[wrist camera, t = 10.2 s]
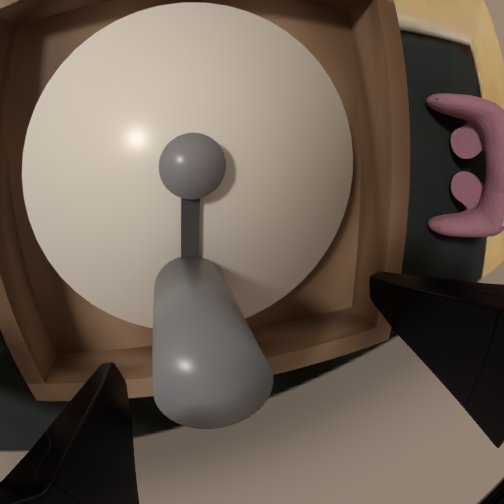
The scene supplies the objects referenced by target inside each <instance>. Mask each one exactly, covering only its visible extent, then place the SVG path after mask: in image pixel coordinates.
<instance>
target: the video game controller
mask: <svg viewBox="0 0 504 504" xmlns="http://www.w3.org/2000/svg"><path fill="white" fill-rule="evenodd" d="M426 104H427V106H428V107H430V108H432V109H433V110H435V111H438V112H440V113H443V114H446V115H450V116H453V117H456V118H460V119H464V120H465V121H466V123H465V125H464V126H462V127H460V128H458V129H456V130H455V131H454V132H453V133H452V135H451V146H452V149H453V151H454V152H455V154H456V155H457V156H459V157H461V158H464V159H470V158H473V157H475V156H477V155H478V154H479V153H481V152H482V151H484V152H485V160H486V174H485V183H484V184H483V183H481V181H480V180H479V179H478V178H477V177H476V176H475V175H474V174H472V173H470V172H464V171H462V172H459V173H457V174H456V175H455V176H454V177H453V179H452V182H451V191H452V194H453V195H454V197H455V198H456V199H457V200H459V201H460V202H461V203H463V204H464V205H465V206H466V207H467V209H466V210H465V211H462V212H460V213H454V214H445V215H440V216H435V217H433V218H431V219H429V221H428V226H429V228H430V229H432V230H433V231H435V232H437V233H440V234H443V235H447V236H458V237H488V236H495V235H497V234H499V233H501V232H502V231H503V230H504V110H503V109H502V108H501V107H500V106H498V105H497V104H496V103H494V102H491V101H488V100H486V99H483V98H479V97H475V96H470V95H462V94H447V93H443V94H434V95H431V96H429V97H428V98H427V99H426Z"/></svg>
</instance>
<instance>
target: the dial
mask: <svg viewBox="0 0 504 504" xmlns="http://www.w3.org/2000/svg"><path fill="white" fill-rule="evenodd" d="M352 176H353V148H352V138H351V132H350V128H349V123H348V119H347V115H346V112H345V109H344V107H343V104H342V101H341V98H340V96H339V94H338V92H337V90H336V88H335V86H334V84H333V82H332V81H331V79H330V77H329V76H328V74H327V73H326V71H325V70H324V68H323V67H322V66H321V64H320V63H319V61H318V60H317V59H316V58H315V57H314V56H313V55H312V54H311V53H310V52H309V50H308V49H307V48H306V47H305V46H304V45H303V44H301V43H300V42H299V41H298V40H297V39H295V38H294V37H293V36H292V35H290V34H289V33H288V32H286V31H285V30H283V29H282V28H280V27H279V26H277V25H275V24H274V23H272V22H270V21H268V20H266V19H264V18H262V17H260V16H257V15H255V14H253V13H250V12H248V11H244V10H241V9H237V8H234V7H230V6H226V5H219V4H212V3H199V2H183V3H174V4H167V5H160V6H156V7H152V8H148V9H145V10H141V11H138V12H135V13H133V14H130V15H128V16H126V17H123V18H121V19H119V20H117V21H115V22H113V23H111V24H109V25H108V26H106V27H104V28H103V29H101V30H99V31H98V32H96V33H95V34H93V35H92V36H91V37H90V38H88V39H87V40H86V41H85V42H83V43H82V44H81V45H80V46H79V47H77V48H76V49H75V50H74V51H73V52H72V53H71V54H70V55H69V57H68V58H67V59H66V60H65V61H64V62H63V63H62V64H61V65H60V66H59V68H58V69H57V71H56V72H55V73H54V75H53V76H52V78H51V79H50V81H49V82H48V83H47V85H46V87H45V89H44V90H43V92H42V94H41V96H40V98H39V100H38V102H37V104H36V106H35V109H34V111H33V114H32V117H31V120H30V123H29V126H28V129H27V134H26V139H25V144H24V149H23V160H22V184H23V195H24V201H25V206H26V210H27V214H28V218H29V221H30V224H31V227H32V229H33V232H34V234H35V237H36V239H37V241H38V243H39V245H40V247H41V249H42V251H43V252H44V254H45V256H46V258H47V259H48V261H49V262H50V263H51V265H52V266H53V267H54V269H55V270H56V271H57V273H58V274H59V275H60V276H61V278H62V279H63V280H64V281H65V282H66V283H67V284H68V285H69V286H70V287H71V288H72V289H73V290H74V291H75V292H77V293H78V294H79V295H81V296H82V297H83V298H85V299H86V300H87V301H89V302H90V303H91V304H93V305H94V306H96V307H98V308H99V309H101V310H103V311H105V312H107V313H108V314H110V315H112V316H115V317H117V318H120V319H122V320H125V321H127V322H130V323H133V324H137V325H141V326H145V327H148V328H153V345H152V366H153V396H154V400H155V403H156V404H157V406H158V408H159V409H160V411H161V412H162V413H163V414H164V415H165V416H167V417H168V418H169V419H171V420H172V421H174V422H176V423H178V424H181V425H184V426H187V427H192V428H198V429H214V428H221V427H226V426H230V425H232V424H236V423H238V422H240V421H243V420H244V419H246V418H248V417H250V416H251V415H252V414H254V413H255V412H256V411H258V410H259V409H260V407H262V406H263V405H264V403H265V402H266V401H267V399H268V397H269V396H270V393H271V391H272V387H273V373H272V370H271V368H270V366H269V364H268V362H267V360H266V358H265V356H264V354H263V352H262V351H261V349H260V347H259V345H258V343H257V341H256V339H255V337H254V335H253V333H252V331H251V329H250V327H249V325H248V324H247V322H246V320H245V318H247V317H250V316H252V315H254V314H256V313H258V312H260V311H262V310H264V309H266V308H268V307H269V306H271V305H272V304H274V303H275V302H277V301H278V300H280V299H281V298H283V297H284V296H286V295H287V294H288V293H289V292H290V291H291V290H293V289H294V288H295V287H296V286H297V285H298V284H300V283H301V282H302V281H303V280H304V278H305V277H306V276H307V275H308V274H309V273H310V272H311V271H312V270H313V269H314V268H315V266H316V265H317V264H318V262H319V261H320V259H321V258H322V257H323V255H324V254H325V253H326V251H327V249H328V248H329V246H330V244H331V242H332V240H333V239H334V237H335V235H336V233H337V231H338V228H339V226H340V224H341V221H342V219H343V216H344V213H345V210H346V206H347V203H348V199H349V195H350V189H351V183H352Z"/></svg>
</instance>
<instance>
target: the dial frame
mask: <svg viewBox="0 0 504 504" xmlns="http://www.w3.org/2000/svg"><path fill="white" fill-rule="evenodd" d="M183 2H199V3H212V4H219V5H226V6H230V7H234V8H237V9H241V10H244V11H248V12H250V13H253V14H255V15H257V16H260V17H262V18H264V19H266V20H268V21H270V22H272V23H274V24H275V25H277V26H279V27H280V28H282V29H283V30H285V31H286V32H288V33H289V34H290V35H292V36H293V37H294V38H295V39H297V40H298V41H299V42H300V43H301V44H303V45H304V46H305V47H306V48H307V49H308V50H309V52H310V53H311V54H312V55H313V56H314V57H315V58H316V59H317V60H318V61H319V63H320V64H321V66H322V67H323V68H324V70H325V71H326V73H327V74H328V76H329V77H330V79H331V81H332V82H333V84H334V86H335V88H336V90H337V92H338V94H339V96H340V98H341V101H342V104H343V107H344V109H345V112H346V115H347V119H348V123H349V128H350V132H351V138H352V148H353V176H352V183H351V189H350V195H349V199H348V203H347V206H346V210H345V213H344V216H343V219H342V221H341V224H340V226H339V228H338V231H337V233H336V235H335V237H334V239H333V240H332V242H331V244H330V246H329V248H328V249H327V251H326V253H325V254H324V255H323V257H322V258H321V259H320V261H319V262H318V264H317V265H316V266H315V268H314V269H313V270H312V271H311V272H310V273H309V274H308V275H307V276H306V277H305V278H304V280H303V281H302V282H301V283H300V284H298V285H297V286H296V287H295V288H294V289H293V290H291V291H290V292H289V293H288V294H287V295H286V296H284V297H283V298H281V299H280V300H278V301H277V302H275V303H274V304H272V305H271V306H269V307H268V308H266V309H264V310H262V311H260V312H258V313H256V314H254V315H252V316H250V317H247V318H245V320H246V322H247V324H248V325H249V327H250V329H251V331H252V333H253V335H254V337H255V339H256V341H257V343H258V345H259V347H260V349H261V351H262V352H263V354H264V356H265V358H266V360H267V362H268V364H269V366H270V368H271V370H272V373H273V375H275V374H279V373H283V372H287V371H291V370H295V369H298V368H302V367H306V366H309V365H313V364H316V363H320V362H323V361H327V360H330V359H333V358H336V357H340V356H343V355H346V354H349V353H352V352H355V351H358V350H361V349H364V348H367V347H370V346H373V345H375V344H378V343H381V342H384V341H386V340H389V335H390V331H391V326H390V325H389V323H388V322H387V321H386V319H385V318H384V317H383V315H382V314H381V313H380V312H379V310H378V309H377V308H376V306H375V305H374V304H373V302H372V301H371V299H370V289H369V278H370V276H371V275H372V274H374V273H376V272H379V271H382V272H391V273H399V274H401V271H402V263H403V256H404V248H405V239H406V229H407V217H408V203H409V184H410V122H409V103H408V90H407V79H406V70H405V62H404V54H403V47H402V41H401V34H400V29H399V23H398V18H397V13H396V8H395V4H394V0H0V330H1V333H2V335H3V337H4V339H5V342H6V344H7V346H8V348H9V350H10V352H11V354H12V357H13V359H14V361H15V363H16V365H17V366H18V368H19V370H20V372H21V374H22V376H23V378H24V380H25V381H26V383H27V385H28V387H29V388H30V390H31V392H32V394H33V395H34V397H35V399H36V400H37V401H71V400H72V398H73V397H74V396H75V395H76V394H77V392H78V391H79V390H80V389H81V388H82V386H83V385H84V384H85V383H86V382H87V380H88V379H89V378H90V377H91V376H92V374H93V373H94V372H95V371H96V370H97V369H98V367H99V366H100V365H101V364H103V363H107V362H114V363H115V365H116V366H117V368H118V369H119V371H120V373H121V374H122V376H123V378H124V379H125V381H126V384H127V391H128V398H138V397H148V396H153V366H152V345H153V328H148V327H145V326H141V325H137V324H133V323H130V322H127V321H125V320H122V319H120V318H117V317H115V316H112V315H110V314H108V313H107V312H105V311H103V310H101V309H99V308H98V307H96V306H94V305H93V304H91V303H90V302H89V301H87V300H86V299H85V298H83V297H82V296H81V295H79V294H78V293H77V292H75V291H74V290H73V289H72V288H71V287H70V286H69V285H68V284H67V283H66V282H65V281H64V280H63V279H62V278H61V276H60V275H59V274H58V273H57V271H56V270H55V269H54V267H53V266H52V265H51V263H50V262H49V261H48V259H47V258H46V256H45V254H44V252H43V251H42V249H41V247H40V245H39V243H38V241H37V239H36V237H35V234H34V232H33V229H32V227H31V224H30V221H29V218H28V214H27V210H26V206H25V201H24V195H23V184H22V160H23V149H24V144H25V139H26V134H27V129H28V126H29V123H30V120H31V117H32V114H33V111H34V109H35V106H36V104H37V102H38V100H39V98H40V96H41V94H42V92H43V90H44V89H45V87H46V85H47V83H48V82H49V81H50V79H51V78H52V76H53V75H54V73H55V72H56V71H57V69H58V68H59V66H60V65H61V64H62V63H63V62H64V61H65V60H66V59H67V58H68V57H69V55H70V54H71V53H72V52H73V51H74V50H75V49H76V48H77V47H79V46H80V45H81V44H82V43H83V42H85V41H86V40H87V39H88V38H90V37H91V36H92V35H93V34H95V33H96V32H98V31H99V30H101V29H103V28H104V27H106V26H108V25H109V24H111V23H113V22H115V21H117V20H119V19H121V18H123V17H126V16H128V15H130V14H133V13H135V12H138V11H141V10H145V9H148V8H152V7H156V6H160V5H167V4H174V3H183Z"/></svg>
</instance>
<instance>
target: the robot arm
mask: <svg viewBox="0 0 504 504" xmlns="http://www.w3.org/2000/svg"><path fill="white" fill-rule="evenodd" d="M369 289H370V299H371V301H372V302H373V304H374V305H375V306H376V308H377V309H378V310H379V312H380V313H381V314H382V315H383V317H384V318H385V319H386V321H387V322H388V323H389V325H390V326H391V327H392V328H393V330H394V331H395V332H396V333H397V334H398V335H399V336H400V337H401V338H402V339H403V341H405V343H406V344H407V345H408V346H409V347H410V348H411V349H412V350H413V351H414V352H415V353H416V355H417V356H418V357H419V358H420V359H421V360H422V361H423V362H424V363H425V364H426V365H427V366H428V368H429V369H430V370H431V371H432V372H433V373H434V374H435V375H436V377H437V378H438V379H439V380H440V381H441V382H442V383H443V384H444V385H445V387H446V388H447V389H448V390H449V391H450V392H451V394H452V395H453V396H454V397H455V398H456V399H457V400H458V401H459V403H460V404H461V405H462V406H463V407H464V408H465V410H466V411H467V412H468V413H469V415H470V416H471V417H472V418H473V419H474V421H475V422H476V423H477V424H478V425H479V426H480V428H481V429H482V430H483V431H484V433H485V434H486V435H487V436H488V437H489V439H490V440H491V441H492V442H493V444H494V445H495V446H496V447H497V448H499V447H500V446H501V445H502V444H503V442H504V285H501V284H485V283H476V282H467V281H466V282H464V281H458V280H450V279H441V278H433V277H424V276H416V275H407V274H399V273H391V272H382V271H379V272H376V273H374V274H372V275H371V276H370V278H369ZM0 504H139V498H138V490H137V482H136V472H135V460H134V447H133V429H132V419H131V413H130V406H129V399H128V391H127V384H126V381H125V379H124V378H123V376H122V374H121V373H120V371H119V369H118V368H117V366H116V365H115V363H114V362H107V363H103V364H101V365H100V366H99V367H98V369H97V370H96V371H95V372H94V373H93V374H92V376H91V377H90V378H89V379H88V380H87V382H86V383H85V384H84V385H83V386H82V388H81V389H80V390H79V391H78V392H77V394H76V395H75V396H74V397H73V398H72V400H71V401H70V402H69V403H68V404H67V406H66V407H65V408H64V409H63V410H62V412H61V413H60V414H59V415H58V417H57V418H56V419H55V420H54V422H53V423H52V424H51V425H50V427H49V428H48V429H47V431H45V433H44V434H43V435H42V437H41V438H40V439H39V440H38V441H37V443H36V444H35V445H34V446H33V448H32V449H31V450H30V451H29V452H28V453H27V454H26V456H25V457H24V458H23V459H22V460H21V461H20V462H19V463H18V464H17V465H16V467H15V468H14V469H13V470H12V471H11V472H10V473H9V474H8V475H7V476H6V477H5V478H4V480H2V481H1V482H0ZM477 504H504V477H503V478H502V479H501V480H500V481H499V483H497V484H496V485H495V487H494V488H493V489H492V490H491V491H490V492H489V493H487V495H485V496H484V497H483V498H482V499H481V500H480V501H479V502H478V503H477Z"/></svg>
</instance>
